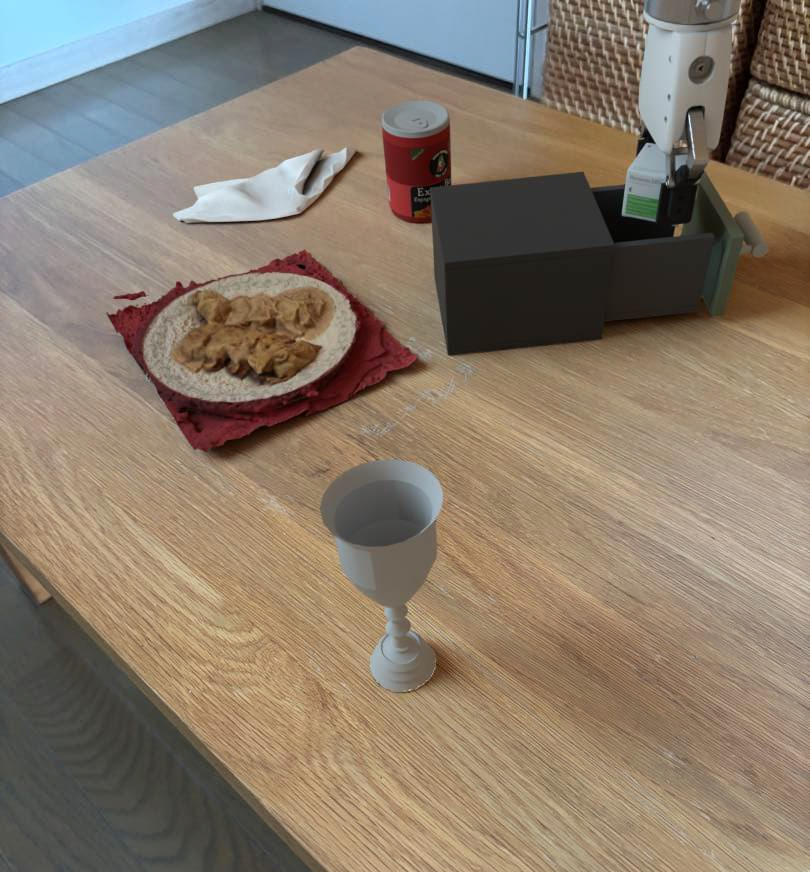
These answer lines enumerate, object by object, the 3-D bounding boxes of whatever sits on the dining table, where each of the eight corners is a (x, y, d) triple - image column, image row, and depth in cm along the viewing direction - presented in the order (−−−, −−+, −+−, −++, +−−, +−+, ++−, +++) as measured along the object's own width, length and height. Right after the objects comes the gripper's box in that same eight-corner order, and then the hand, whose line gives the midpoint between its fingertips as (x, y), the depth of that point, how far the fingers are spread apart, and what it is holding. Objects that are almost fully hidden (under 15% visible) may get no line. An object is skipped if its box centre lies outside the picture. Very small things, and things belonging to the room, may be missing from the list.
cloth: (188, 247, 103) (183, 230, 101) (163, 195, 111) (158, 178, 109) (389, 190, 108) (388, 173, 106) (351, 145, 116) (349, 128, 115)
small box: (619, 217, 83) (625, 168, 79) (640, 188, 86) (646, 140, 82) (678, 229, 81) (687, 179, 77) (697, 199, 84) (706, 149, 80)
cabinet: (574, 263, 95) (583, 171, 87) (602, 339, 87) (614, 244, 78) (434, 278, 95) (430, 187, 87) (447, 355, 87) (444, 262, 79)
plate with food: (201, 467, 79) (192, 441, 77) (110, 323, 93) (99, 296, 91) (421, 372, 86) (420, 344, 83) (305, 251, 100) (301, 224, 98)
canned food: (419, 231, 102) (413, 139, 93) (375, 207, 106) (366, 116, 97) (466, 206, 104) (464, 114, 96) (422, 183, 109) (417, 93, 100)
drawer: (728, 243, 94) (747, 165, 87) (767, 311, 86) (791, 231, 79) (556, 261, 94) (562, 185, 87) (580, 330, 86) (588, 252, 80)
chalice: (374, 719, 61) (344, 564, 48) (341, 646, 66) (303, 484, 52) (467, 680, 63) (463, 519, 49) (428, 611, 67) (415, 444, 53)
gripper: (778, 30, 64) (728, 245, 77) (707, -47, 75) (674, 152, 88) (676, 42, 64) (644, 255, 77) (621, -37, 75) (601, 161, 88)
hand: (661, 199), depth 83 cm, fingers closed on small box, 7 cm apart
